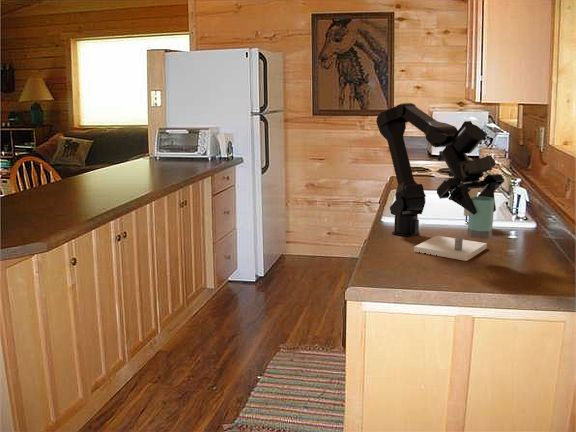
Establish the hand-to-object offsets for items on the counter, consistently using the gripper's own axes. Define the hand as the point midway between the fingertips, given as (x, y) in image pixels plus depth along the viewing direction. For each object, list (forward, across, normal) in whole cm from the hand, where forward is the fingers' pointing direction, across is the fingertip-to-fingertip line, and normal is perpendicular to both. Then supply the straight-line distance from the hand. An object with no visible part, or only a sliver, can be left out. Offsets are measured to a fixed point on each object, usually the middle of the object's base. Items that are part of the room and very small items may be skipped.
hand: (484, 212), depth 159 cm
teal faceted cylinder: (+4, 0, +6) cm, 7 cm away
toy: (-15, +26, +35) cm, 46 cm away
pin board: (+1, 0, +18) cm, 18 cm away
